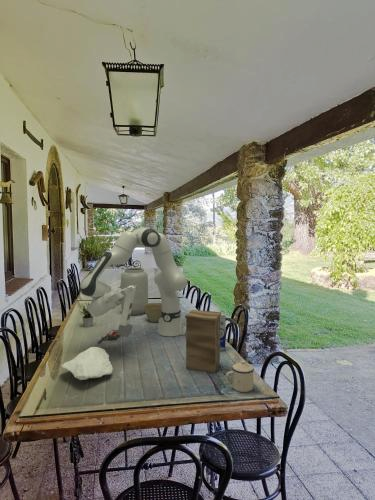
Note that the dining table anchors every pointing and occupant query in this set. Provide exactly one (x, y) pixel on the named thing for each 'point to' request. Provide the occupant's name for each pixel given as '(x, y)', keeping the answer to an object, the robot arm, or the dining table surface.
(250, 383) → the teacup with lid
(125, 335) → the power strip
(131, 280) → the vase
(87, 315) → the house plant
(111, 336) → the walkie-talkie
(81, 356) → the crumpled cloth
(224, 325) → the milk carton
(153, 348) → the dining table surface
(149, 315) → the planter bowl
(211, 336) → the stand
